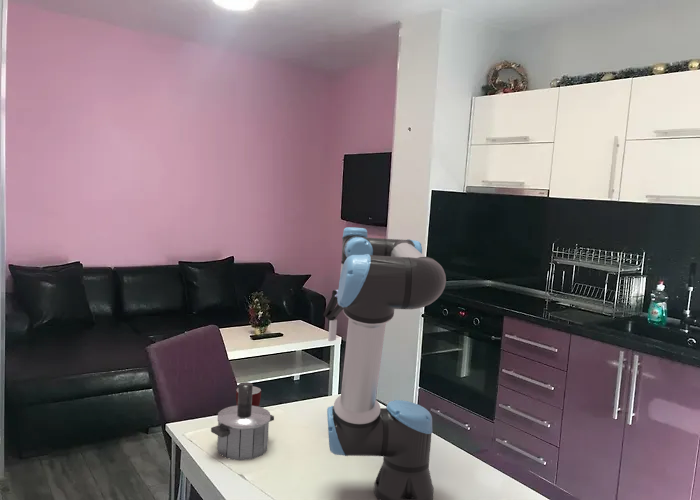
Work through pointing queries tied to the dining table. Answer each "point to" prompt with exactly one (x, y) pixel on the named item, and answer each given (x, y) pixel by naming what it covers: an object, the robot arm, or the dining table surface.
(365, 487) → the dining table surface
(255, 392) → the mug
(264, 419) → the lid
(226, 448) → the pot
